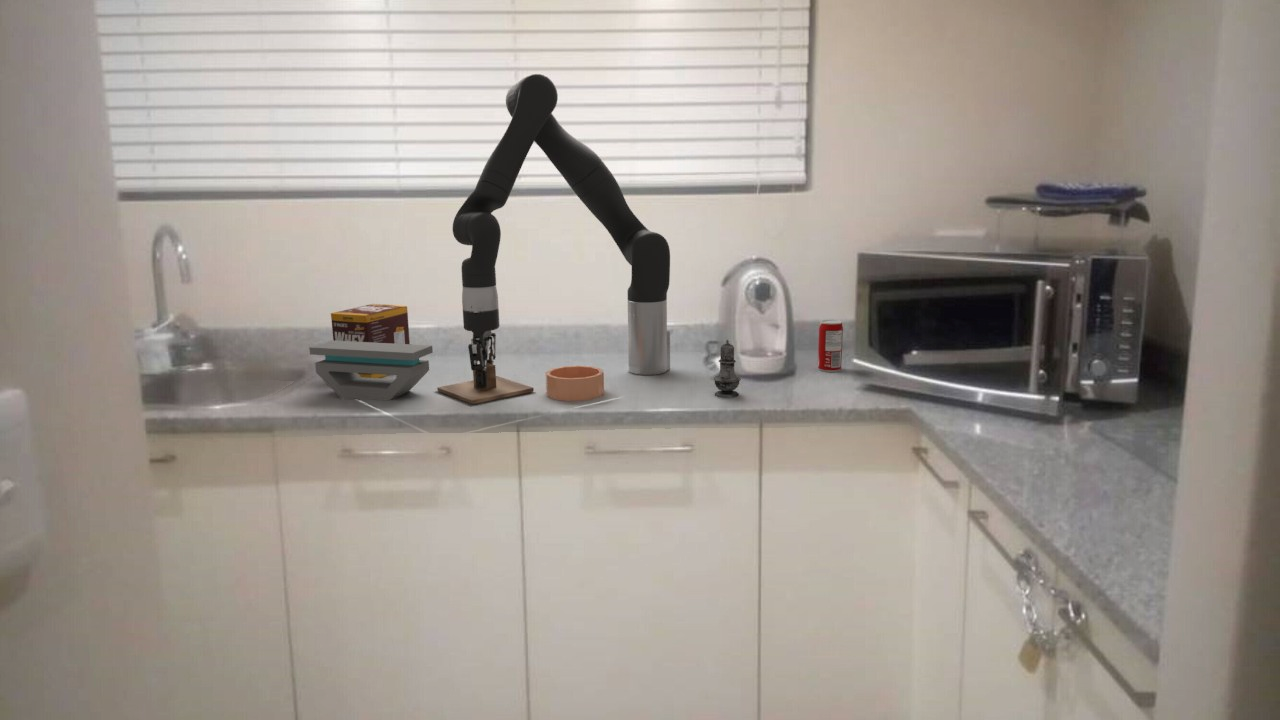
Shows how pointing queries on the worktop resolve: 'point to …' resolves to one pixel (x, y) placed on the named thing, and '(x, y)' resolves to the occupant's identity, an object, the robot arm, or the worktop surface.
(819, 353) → the soda can
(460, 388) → the walnut lid
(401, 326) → the supplement box
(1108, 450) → the worktop surface
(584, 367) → the terracotta bowl
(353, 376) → the sharpening stone
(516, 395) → the charcoal mat
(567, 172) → the robot arm
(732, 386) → the salt shaker
